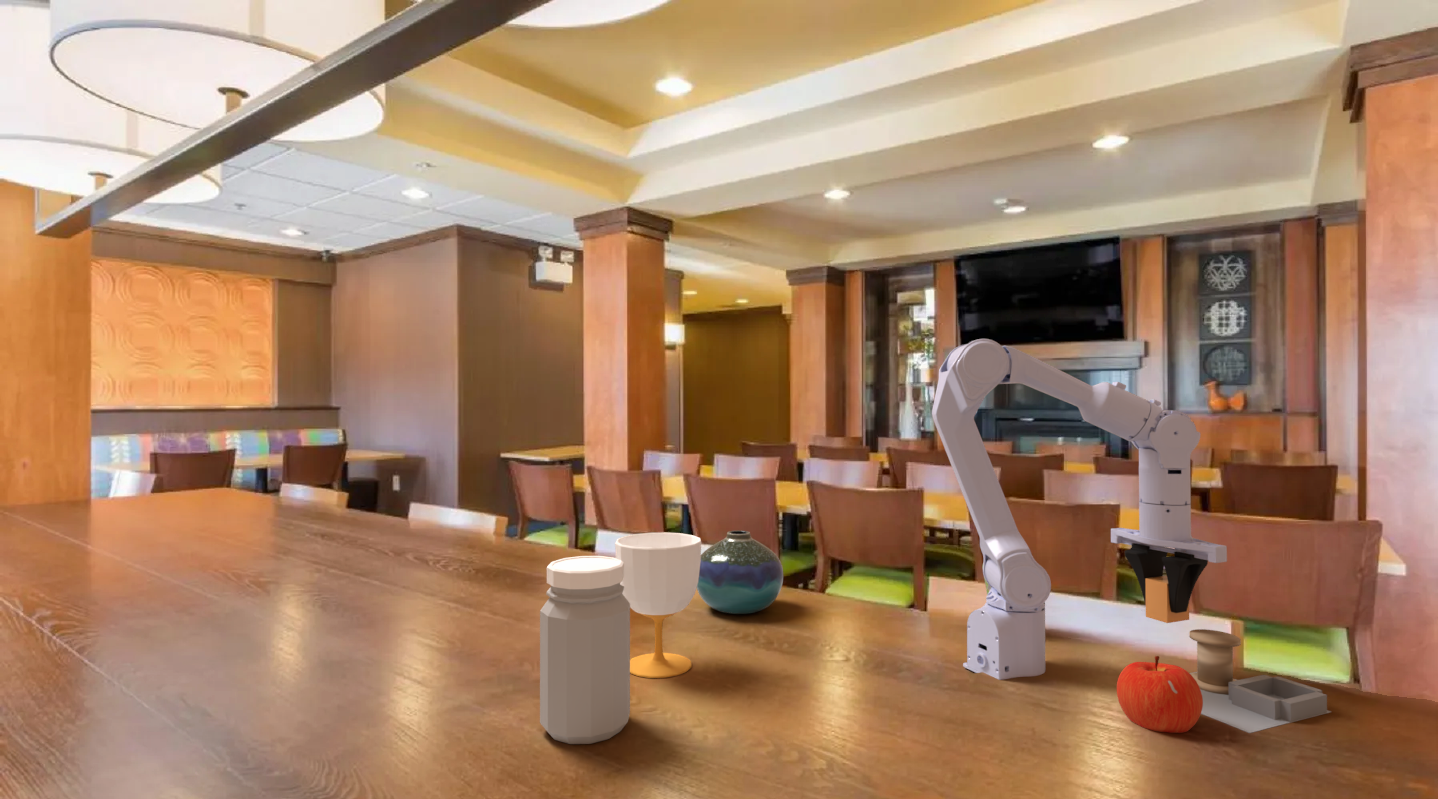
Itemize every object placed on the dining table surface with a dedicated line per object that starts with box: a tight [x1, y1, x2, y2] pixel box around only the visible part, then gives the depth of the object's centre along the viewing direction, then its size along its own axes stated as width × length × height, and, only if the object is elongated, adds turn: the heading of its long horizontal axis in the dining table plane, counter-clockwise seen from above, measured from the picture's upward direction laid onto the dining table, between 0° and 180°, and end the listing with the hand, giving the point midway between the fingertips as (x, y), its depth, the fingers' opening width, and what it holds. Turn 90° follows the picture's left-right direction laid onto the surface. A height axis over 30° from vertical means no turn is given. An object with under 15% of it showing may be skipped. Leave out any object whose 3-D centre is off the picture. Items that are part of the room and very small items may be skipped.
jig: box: [1189, 671, 1332, 734], centre depth 86 cm, size 14×14×3 cm
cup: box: [614, 532, 702, 679], centre depth 99 cm, size 12×12×17 cm
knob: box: [1188, 628, 1242, 695], centre depth 90 cm, size 6×6×6 cm
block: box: [1145, 575, 1190, 624], centre depth 94 cm, size 4×3×5 cm
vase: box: [696, 530, 784, 615], centre depth 126 cm, size 15×15×13 cm
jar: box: [539, 555, 631, 745], centre depth 80 cm, size 10×10×18 cm
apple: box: [1116, 655, 1203, 734], centre depth 80 cm, size 8×8×8 cm
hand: (1165, 608), depth 94 cm, fingers closed on block, 3 cm apart
